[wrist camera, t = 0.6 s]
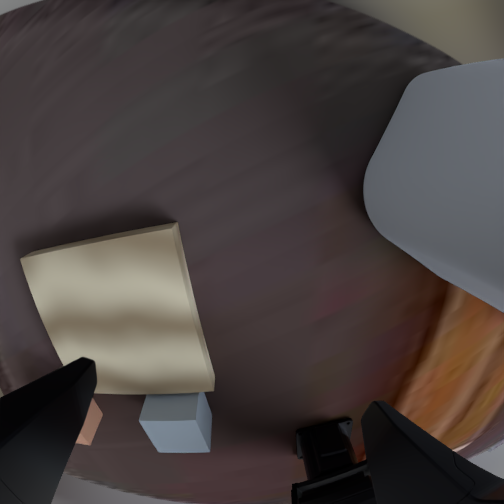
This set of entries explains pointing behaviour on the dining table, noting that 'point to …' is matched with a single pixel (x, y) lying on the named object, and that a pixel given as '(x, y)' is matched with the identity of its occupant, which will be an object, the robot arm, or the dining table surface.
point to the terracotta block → (90, 424)
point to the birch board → (124, 310)
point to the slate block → (178, 422)
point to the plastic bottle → (446, 177)
